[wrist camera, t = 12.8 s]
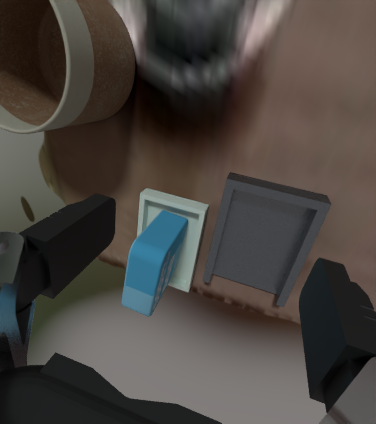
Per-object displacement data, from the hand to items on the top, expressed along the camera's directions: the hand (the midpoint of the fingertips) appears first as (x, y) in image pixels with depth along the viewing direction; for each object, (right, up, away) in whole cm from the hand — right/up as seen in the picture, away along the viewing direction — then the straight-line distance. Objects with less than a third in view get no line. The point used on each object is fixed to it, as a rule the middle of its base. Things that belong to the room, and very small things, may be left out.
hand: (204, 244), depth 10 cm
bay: (+10, -3, +30) cm, 32 cm away
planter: (-15, +23, +27) cm, 38 cm away
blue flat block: (-4, -4, +35) cm, 35 cm away
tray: (-4, -3, +35) cm, 36 cm away
